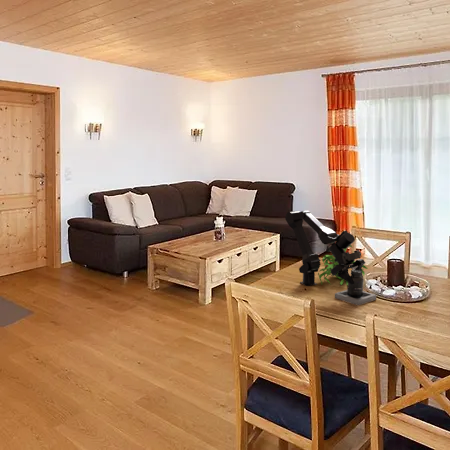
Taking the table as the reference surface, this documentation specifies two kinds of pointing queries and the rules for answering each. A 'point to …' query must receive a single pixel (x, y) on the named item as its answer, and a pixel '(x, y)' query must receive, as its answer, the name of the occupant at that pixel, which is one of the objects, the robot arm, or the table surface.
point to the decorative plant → (330, 265)
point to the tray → (357, 301)
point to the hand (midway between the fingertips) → (358, 282)
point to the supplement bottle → (356, 284)
